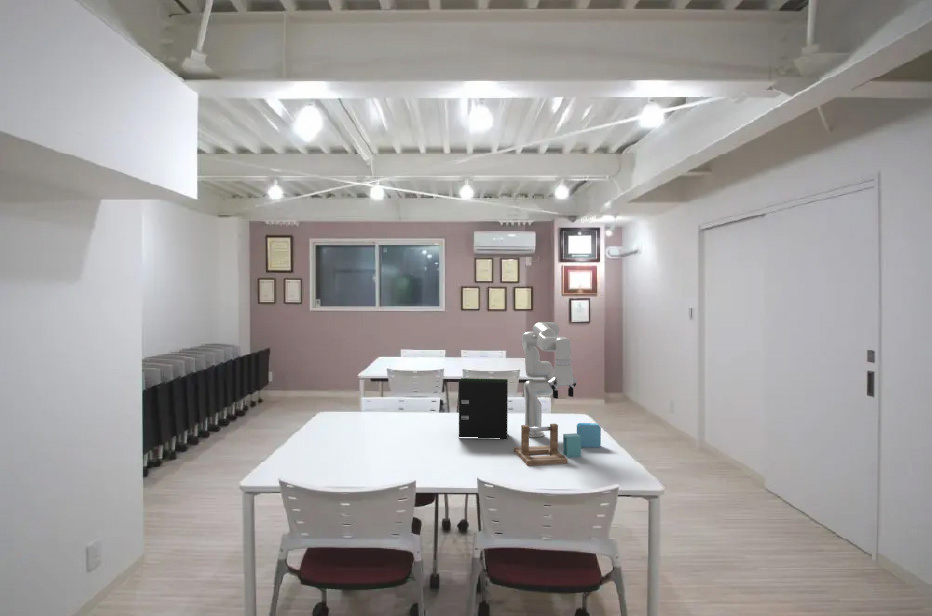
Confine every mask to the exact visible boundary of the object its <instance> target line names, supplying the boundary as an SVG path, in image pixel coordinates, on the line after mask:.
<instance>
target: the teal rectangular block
mask: <svg viewBox="0 0 932 616" xmlns="http://www.w3.org/2000/svg"><path fill="white" fill-rule="evenodd" d="M562 435H563V436H562V437H563V438H562V455H563V456H564V455H565V456H566V458H579V457H580V458H581V456H582V451H581V449H582V447H581V436H579V435H578V434H577V432H576V433H563V434H562Z"/></svg>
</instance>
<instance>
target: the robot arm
mask: <svg viewBox="0 0 932 616" xmlns="http://www.w3.org/2000/svg"><path fill="white" fill-rule="evenodd" d="M559 335H560V327H559V324H557V323H556V322H553V321H550V322H547V321H546V322H537V323H535V324H534V325H533V327H532V331H525V332H524V333H523V334H522V335H521V344H522V345H521V346H522V348H523V352H524V360H525V361H524V367H525V375H526V377H528V378H530V379H531V380H527V381H525V382H524V383H523V394H524V425H528V426H529V427H542V416H543V415H542V414H543V412H542V411H543V410H542V403H541V401H540V399H538V398H540V397H551V396H552V398H553V399H556V400H557V399H559V390H558V389H559V388H560V387H567V386H568V388H567V391H568V393H567V395H568V397H570V398H573V397H574V390H575V388H576V386H577V384H578V383H577V382H578V379H577V378H576V377H574V372H573V366H572V362H573V360H572V340H571V339H570V338H567V337H565V336H559ZM537 347H538V348H539V349H540V350H541V351H543V352H549V353H550V352H555V365H554V366H553V364H552V363H551V362H550V361H548V360H541V357H540V352H539V350H538V348H537ZM533 378H534V379H533ZM538 378H540V379H538ZM541 378H542V379H541ZM532 379H533V380H532ZM544 436H545V431H531V432H529V438H541V437H544Z"/></svg>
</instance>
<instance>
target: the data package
mask: <svg viewBox="0 0 932 616" xmlns="http://www.w3.org/2000/svg"><path fill="white" fill-rule="evenodd" d="M601 433H602V427H601V425H599V423H596V422H593V423H592V422H591V423H590V422H579V423H577V424H576V434H578V435H579V436H581V448H600V447H601V444H602V442H601V439H602V438H601V435H602V434H601Z"/></svg>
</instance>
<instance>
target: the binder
mask: <svg viewBox="0 0 932 616" xmlns="http://www.w3.org/2000/svg"><path fill="white" fill-rule="evenodd" d="M508 383H509V381H508V378H470V377H469V378H467V377H466V378H462V377H461V378H460V380H459V381H458V438H459V437H478V438H500V439H499V440H504V439H507V440H508V403H509V402H508V397H509V395H508V392H509V391H508V390H509V389H508V388H509V387H508Z"/></svg>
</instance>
